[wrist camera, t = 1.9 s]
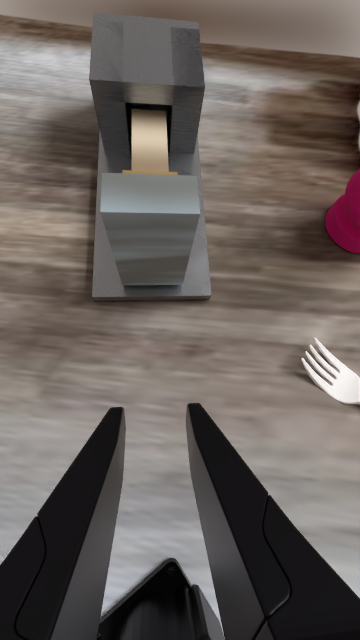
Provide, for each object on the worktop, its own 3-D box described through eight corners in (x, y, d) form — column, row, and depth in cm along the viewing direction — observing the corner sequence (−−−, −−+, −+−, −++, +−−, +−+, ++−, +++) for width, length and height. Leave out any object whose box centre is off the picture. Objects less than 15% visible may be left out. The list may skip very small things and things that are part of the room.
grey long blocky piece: (209, 299, 24) (230, 261, 17) (94, 301, 23) (69, 261, 16) (192, 102, 30) (203, 18, 23) (103, 97, 29) (87, 7, 22)
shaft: (182, 285, 22) (200, 213, 13) (122, 286, 22) (100, 211, 13) (174, 144, 26) (184, 19, 18) (124, 142, 26) (108, 12, 17)
